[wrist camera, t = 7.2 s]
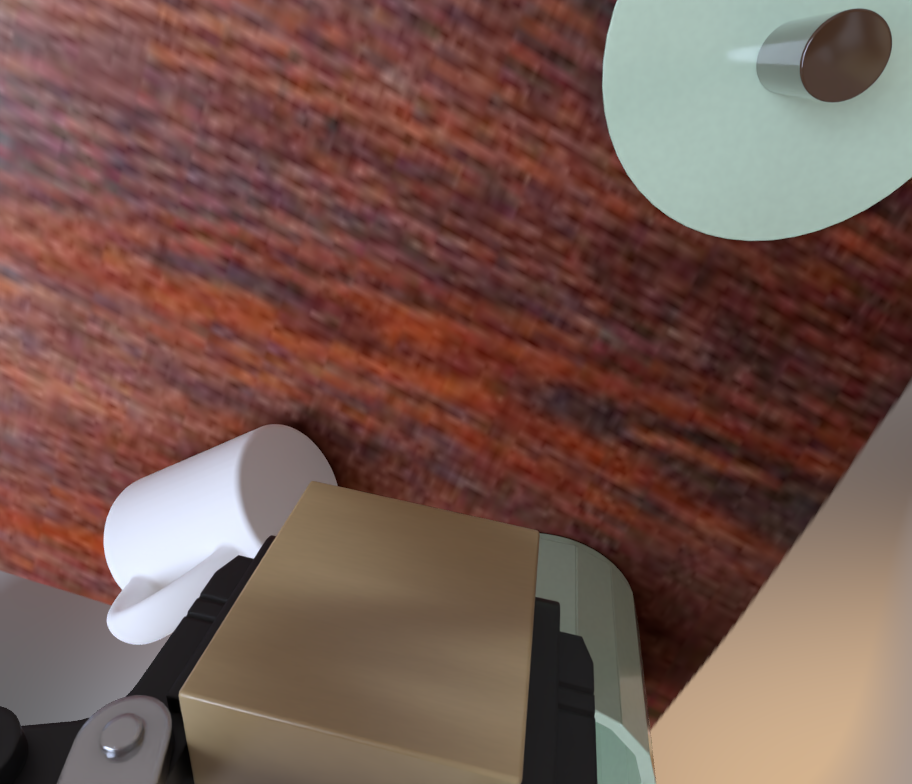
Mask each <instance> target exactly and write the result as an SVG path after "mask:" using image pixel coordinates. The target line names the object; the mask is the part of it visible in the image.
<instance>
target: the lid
mask: <svg viewBox="0 0 912 784" xmlns="http://www.w3.org/2000/svg"><path fill="white" fill-rule="evenodd" d="M602 96H603V107H604V114H605V118H606V123H607V127H608V132H609V135H610V138H611V141H612V143H613V146H614V149H615V152H616V154H617V156H618V158H619V160H620V162H621V164H622V166H623V168H624V169H625V171H626V173H627V175H628V176H629V178H630V179H631V180H632V182H633V183H634V184H635V186H636V187H637V188H638V190H639V191H640V192H641V193H642V194H643V195H644V196H645V197H646V198H647V199H648V200H649V201H650V202H651V203H652V204H653V205H654V206H655V207H656V208H658V209H659V210H660V211H662V212H663V213H664V214H666V215H667V216H668V217H670V218H672V219H673V220H675V221H677V222H679V223H681V224H683V225H684V226H686V227H688V228H691V229H694V230H696V231H699V232H702V233H704V234H707V235H712V236H716V237H720V238H725V239H732V240H743V241H767V240H778V239H784V238H791V237H796V236H800V235H804V234H808V233H811V232H815V231H819V230H821V229H824V228H827V227H829V226H832V225H835V224H837V223H840V222H842V221H844V220H846V219H848V218H850V217H852V216H854V215H856V214H858V213H860V212H862V211H864V210H866V209H868V208H869V207H871V206H873V205H874V204H876V203H877V202H879V201H880V200H882V199H884V198H885V197H887V196H888V195H890V194H891V193H892V192H894V191H895V190H896V189H898V188H899V187H900V186H901V185H903V184H904V183H905V182H907V181H908V180H909V179H910V178H912V0H617V1H616V3H615V6H614V9H613V13H612V16H611V20H610V24H609V28H608V31H607V35H606V42H605V48H604V55H603V63H602Z"/></svg>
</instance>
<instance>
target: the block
mask: <svg viewBox="0 0 912 784" xmlns="http://www.w3.org/2000/svg"><path fill="white" fill-rule="evenodd" d="M539 538H540V534H539V531H537V530H533V529H529V528H524V527H520V526H515V525H511V524H506V523H502V522H497V521H493V520H488V519H484V518H479V517H475V516H470V515H466V514H461V513H457V512H452V511H448V510H443V509H438V508H434V507H429V506H425V505H420V504H416V503H411V502H407V501H402V500H398V499H393V498H389V497H384V496H380V495H375V494H371V493H366V492H362V491H357V490H353V489H348V488H344V487H339V486H335V485H330V484H326V483H321V482H317V481H311V482H310V483H309V485H308V486H307V488H306V490H305V491H304V493H303V494H302V496H301V498H300V499H299V501H298V502H297V504H296V506H295V507H294V509H293V510H292V512H291V514H290V515H289V517H288V518H287V520H286V521H285V523H284V525H283V526H282V528H281V529H280V531H279V533H278V534H277V536H276V537H275V539H274V541H273V542H272V544H271V545H270V547H269V549H268V550H267V552H266V553H265V555H264V557H263V558H262V560H261V561H260V563H259V565H258V566H257V568H256V569H255V571H254V573H253V574H252V576H251V577H250V579H249V581H248V582H247V584H246V585H245V587H244V589H243V590H242V592H241V593H240V595H239V597H238V598H237V600H236V601H235V603H234V605H233V606H232V608H231V609H230V611H229V613H228V614H227V616H226V617H225V619H224V621H223V622H222V624H221V625H220V627H219V629H218V630H217V632H216V633H215V635H214V637H213V638H212V640H211V641H210V643H209V645H208V646H207V648H206V649H205V651H204V653H203V654H202V656H201V657H200V659H199V661H198V662H197V664H196V665H195V667H194V669H193V670H192V672H191V673H190V675H189V677H188V678H187V680H186V681H185V683H184V685H183V686H182V688H181V689H180V691H179V695H178V696H179V701H180V707H181V712H182V718H183V723H184V729H185V734H186V740H187V746H188V751H189V757H190V762H191V768H192V773H193V779H194V784H521V782H522V778H523V764H524V750H525V736H526V721H527V707H528V693H529V679H530V665H531V651H532V637H533V623H534V609H535V594H536V580H537V566H538V552H539Z"/></svg>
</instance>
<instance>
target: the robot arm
mask: <svg viewBox="0 0 912 784" xmlns="http://www.w3.org/2000/svg"><path fill="white" fill-rule="evenodd" d="M275 537H276V536H273V535H271V536H269V537H268V538H267V539H266V541H265V542H264V543H263V545H262V547H261V548H260V550H259V551H258V553H257V554H256V556H255V558H254V559H253V558H249V557H244V556H240V555H238V556H236V557H235V558H234V559H232V560H231V561H230V562H228V563H227V564H226V565H224V566H223V567H221V568H220V569H219V570H217V571H216V572H215V573H214V575H213V576H212V578H211V579H210V580H209V582H208V583H207V585H206V586H205V588H204V589H203V590H202V592H201V593H200V597H199V598H197V599H196V600H195V602H194V603H193V605H192V606H191V608H190V609H189V610H188V613H187V616H186V617H185V616H184V618H183V619H182V620H181V622H180V623H179V625H178V626H177V628H176V629H175V630H174V632H173V633H172V635H171V636H170V638H169V639H168V641H167V642H166V643H165V645H164V646H163V648H162V649H161V651H160V652H159V653H158V655H157V656H156V658H155V659H154V661H153V662H152V663H151V665H150V666H149V668H148V669H147V670H146V672H145V673H144V675H143V676H142V678H141V679H140V681H139V682H138V683H137V685H136V686H135V687H134V688H133V690H132V691H131V692H130V693H129V694H128V695H127V696H126V697H124V698H120V699H118V700H115V701H113V702H111V703H109V704H107V705H106V706H104V707H102V708H101V709H100V710H98V711H97V712H96V713H94V714H93V715H92V716H91V717H90V718H86V719H83V720H78V721H71V722H60V723H49V724H38V725H27V726H21V725H20V723H19V720H18V718H17V717H16V715H15V714H14V713H13V712H12V711H10V710H8V709H7V708H4V707H1V706H0V784H194V779H193V773H192V768H191V762H190V757H189V751H188V746H187V740H186V734H185V729H184V723H183V718H182V712H181V707H180V701H179V696H178V695H179V691H180V689H181V688H182V686H183V685H184V683H185V681H186V680H187V678H188V677H189V675H190V673H191V672H192V670H193V669H194V667H195V665H196V664H197V662H198V661H199V659H200V657H201V656H202V654H203V653H204V651H205V649H206V648H207V646H208V645H209V643H210V641H211V640H212V638H213V637H214V635H215V633H216V632H217V630H218V629H219V627H220V625H221V624H222V622H223V621H224V619H225V617H226V616H227V614H228V613H229V611H230V609H231V608H232V606H233V605H234V603H235V601H236V600H237V598H238V597H239V595H240V593H241V592H242V590H243V589H244V587H245V585H246V584H247V582H248V581H249V579H250V577H251V576H252V574H253V573H254V571H255V569H256V568H257V566H258V565H259V563H260V561H261V560H262V558H263V557H264V555H265V553H266V552H267V550H268V549H269V547H270V545H271V544H272V542H273V541H274V539H275ZM594 716H595V695H594V663H593V660H592V658H591V656H590V654H589V651H588V649H587V647H586V644H585V642H584V640H583V638H582V636H578V635H573V634H569V633H565V632H561V631H560V603H559V602H557V601H552V600H548V599H544V598H539V597H535V609H534V623H533V637H532V651H531V665H530V679H529V693H528V707H527V721H526V736H525V750H524V764H523V778H522V782H521V784H598V783H597V753H596V723H595V717H594Z"/></svg>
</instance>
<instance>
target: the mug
mask: <svg viewBox="0 0 912 784" xmlns="http://www.w3.org/2000/svg"><path fill="white" fill-rule="evenodd" d="M311 481H317V482H321V483H326V484H330V485H335V486H338V485H337V481H336V479H335V476H334V473H333V471H332V469H331V467H330V465H329V463H328V461H327V459H326V458H325V456H324V455H323V453H322V452H321V451H320V449H319V448H318V447H317V446H316V445H315V444H314V443H313V441H311V440H310V439H309V438H308V437H307V436H306V435H304V434H303V433H301V432H300V431H298V430H296V429H294V428H292V427H289V426H286V425H280V424H270V425H265V426H262V427H259V428H257V429H255V430H253V431H250V432H248V433H246V434H243V435H241V436H239V437H236V438H234V439H232V440H229V441H227V442H225V443H222V444H220V445H218V446H216V447H213V448H211V449H209V450H206V451H204V452H202V453H199V454H197V455H195V456H192V457H190V458H188V459H186V460H183V461H181V462H179V463H176V464H174V465H172V466H169V467H167V468H165V469H162V470H160V471H158V472H155V473H153V474H151V475H149V476H146V477H144V478H142V479H139V480H137V481H136V482H134V483H132V484H131V485H129V486H128V487H127V488H126V489H125V490H124V491H123V492H122V493H121V494H120V495H119V496H118V497H117V499H116V500H115V502H114V503H113V505H112V507H111V509H110V511H109V514H108V517H107V520H106V524H105V529H104V551H105V556H106V560H107V564H108V566H109V569H110V571H111V574H112V576H113V577H114V579H115V581H116V582H117V584H118V585H119V586H120V588H121V589H122V591H121V593H120V594H119V595H118V597H117V598H116V600H115V601H114V603H113V604H112V606H111V608H110V610H109V613H108V615H107V625H108V628H109V630H110V631H111V633H112V634H113V635H114V636H115V637H116V638H118V639H119V640H121V641H123V642H126V643H129V644H135V645H136V644H138V645H141V644H148V643H152V642H155V641H157V640H160V639H162V638H164V637H166V636H167V635H169V634H171V633H173V632H174V630H175V629H176V628H177V626H178V625H179V623H180V622H181V620H182V619H183V618H184V616H185V617H186V616H187V613H188V610H189V609H190V608H191V606H192V605H193V603H194V602H195V600H196V599H197V598H199V597H200V593H201V592H202V590H203V589H204V588H205V586H206V585H207V583H208V582H209V580H210V579H211V578H212V576H213V575H214V573H215V572H216V571H217V570H219V569H220V568H221V567H223V566H224V565H226V564H227V563H228V562H230V561H231V560H232V559H234V558H235V557H236V556H238V555H240V556H244V557H249V558H253V559H254V558H255V556H256V554H257V553H258V551H259V550H260V548H261V547H262V545H263V543H264V542H265V541H266V539H267V538H268V537H269V536H271V535H273V536H277V534H278V533H279V531H280V529H281V528H282V526H283V525H284V523H285V521H286V520H287V518H288V517H289V515H290V514H291V512H292V510H293V509H294V507H295V506H296V504H297V502H298V501H299V499H300V498H301V496H302V494H303V493H304V491H305V490H306V488H307V486H308V485H309V483H310V482H311Z"/></svg>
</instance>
